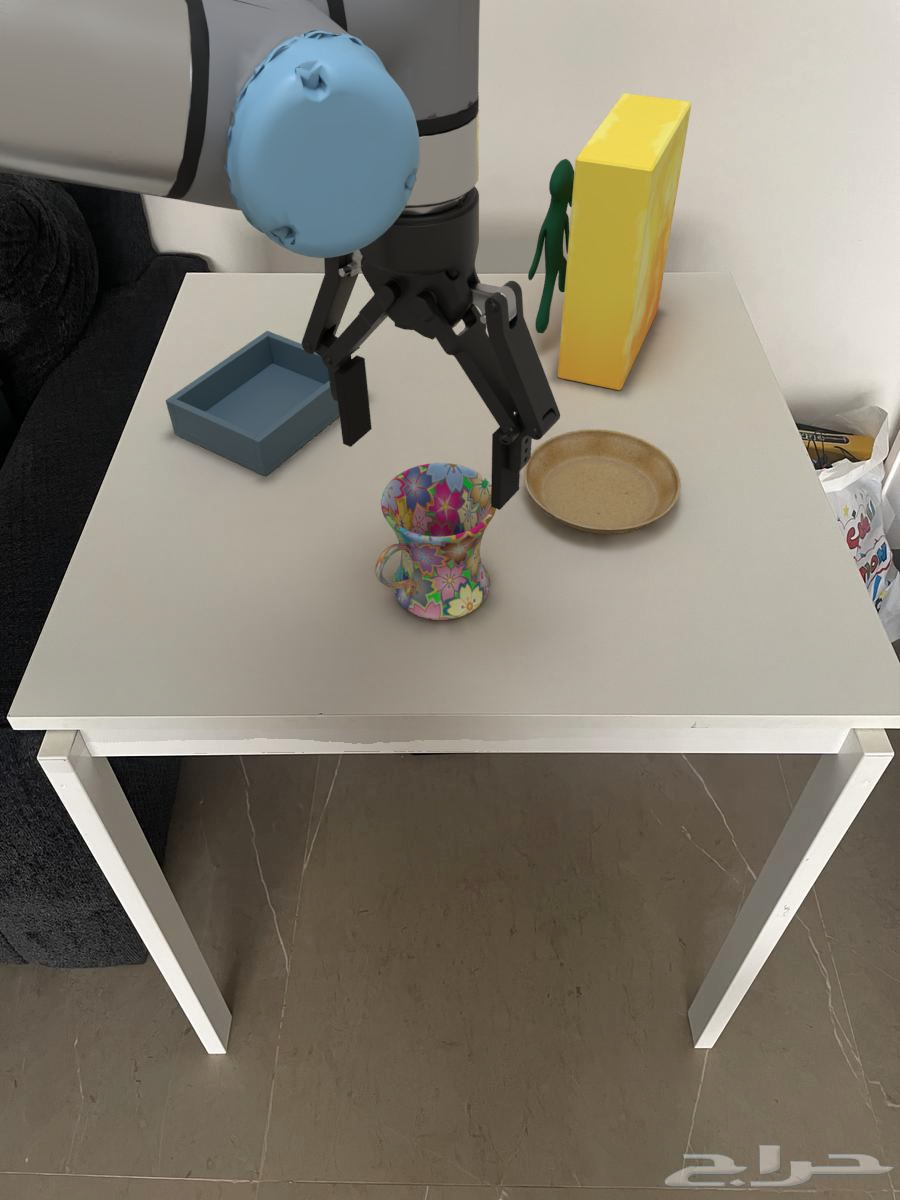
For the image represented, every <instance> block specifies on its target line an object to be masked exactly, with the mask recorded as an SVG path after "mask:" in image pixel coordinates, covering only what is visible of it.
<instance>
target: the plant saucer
mask: <svg viewBox="0 0 900 1200" xmlns="http://www.w3.org/2000/svg"><path fill="white" fill-rule="evenodd" d="M523 479H524V481H523V482H524V484H525V487H526V490H527V492H528V493H529V495H530V497H531V498H532V499H533V500H534V502H535V503H536V504H537V505H538V507H540V508H541V509H542V510H543V511H544V512H545V513H546V514H548V515H549V516H550V517H552V518H553V519H554V520H557V521H558V522H560V523H561V524H563V525H566V526H567V527H570V528H573V529H576V530H578V531H581V532H585V533H589V534H600V535H607V534H608V535H614V534H621V533H627V532H631V531H635V530H639V529H640V528H643V527H646V526H648V525H650V524H651V523H654V522H655V521H658V520H659V519H660V518H662V517H663V516H664V515H666V514H667V513H668V512H669V511H671V509H672V508H673V507H674V505H676V503H677V501H678V499H679V496H680V493H681V488H682V483H681V477H680V473H679V471H678V469H677V467H676V465H675V464H674V462H673V461H672V459H670V457H669V456H668V455H667V454H666V453H664V452H663V451H662V450H661V449H660V448H658V447H657V446H655V445H654V444H652V443H650V442H649V441H647V440H645V439H642V438H640V437H637V436H635V435H631V434H628V433H625V432H621V431H617V430H610V429H598V428H597V429H595V428H592V429H579V430H573V431H568V432H564V433H560V434H558V435H556V436H553V437H551V438H549V439H547V440H545V441H544V442H542V443H541V444H540V445H538V446H537V447H536V448H535V449H533V451H532V452H531V458H530V460H529V461H528V463H527V464H526V465H525V466H524V471H523Z"/></svg>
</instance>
